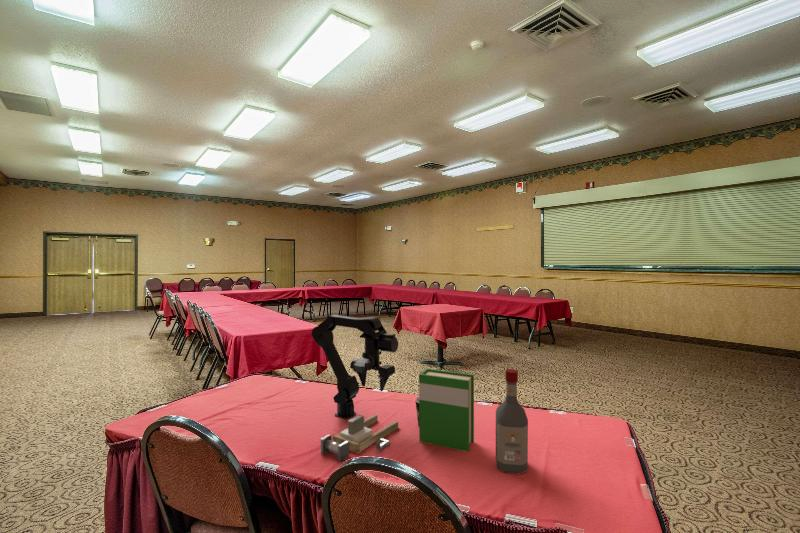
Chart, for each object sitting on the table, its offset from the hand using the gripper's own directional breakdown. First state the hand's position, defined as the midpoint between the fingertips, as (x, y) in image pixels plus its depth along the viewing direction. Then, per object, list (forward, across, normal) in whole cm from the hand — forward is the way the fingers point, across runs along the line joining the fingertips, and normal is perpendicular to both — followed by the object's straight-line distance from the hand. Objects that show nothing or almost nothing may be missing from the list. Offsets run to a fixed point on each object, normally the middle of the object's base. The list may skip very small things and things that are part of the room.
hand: (372, 388), depth 154 cm
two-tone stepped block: (+13, +6, -16) cm, 22 cm away
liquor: (+13, +56, 0) cm, 58 cm away
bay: (+13, +6, -10) cm, 17 cm away
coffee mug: (+13, +19, +10) cm, 25 cm away
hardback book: (+13, +32, +2) cm, 35 cm away
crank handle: (+13, +14, -14) cm, 24 cm away
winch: (+13, +6, -27) cm, 31 cm away
